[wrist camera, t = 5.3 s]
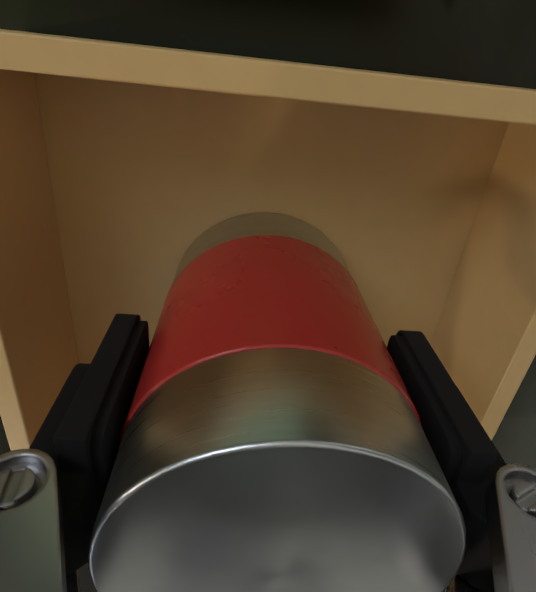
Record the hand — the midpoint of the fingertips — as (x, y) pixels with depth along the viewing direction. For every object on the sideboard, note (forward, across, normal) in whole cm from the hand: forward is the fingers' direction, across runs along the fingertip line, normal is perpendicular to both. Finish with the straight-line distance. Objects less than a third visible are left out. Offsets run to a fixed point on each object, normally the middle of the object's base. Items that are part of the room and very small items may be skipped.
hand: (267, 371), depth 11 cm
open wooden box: (+5, 0, 0) cm, 5 cm away
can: (+4, 0, 0) cm, 4 cm away
